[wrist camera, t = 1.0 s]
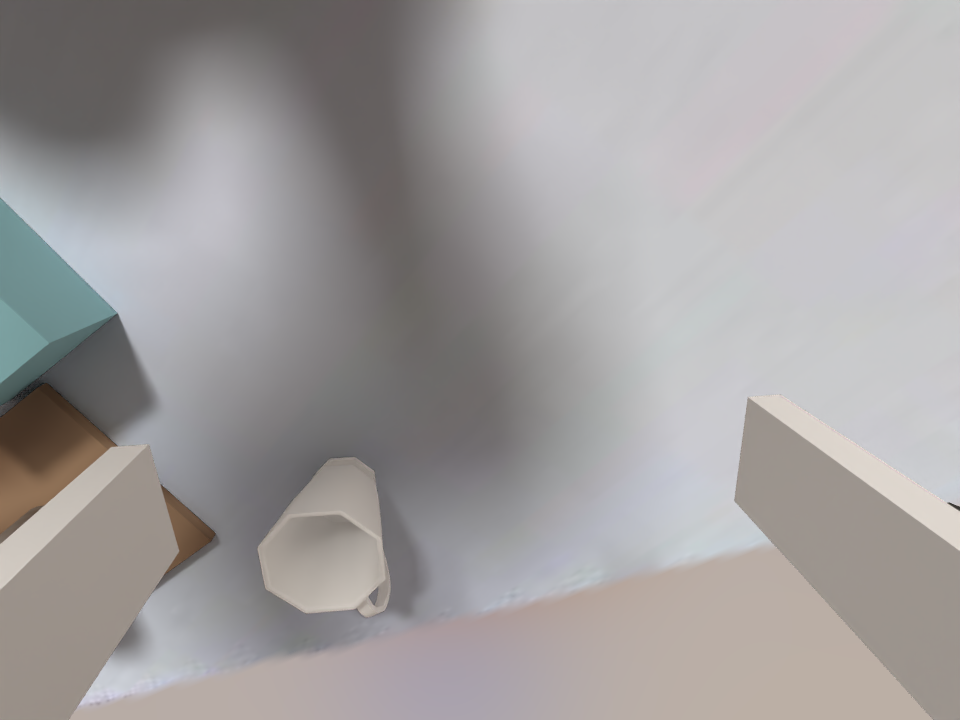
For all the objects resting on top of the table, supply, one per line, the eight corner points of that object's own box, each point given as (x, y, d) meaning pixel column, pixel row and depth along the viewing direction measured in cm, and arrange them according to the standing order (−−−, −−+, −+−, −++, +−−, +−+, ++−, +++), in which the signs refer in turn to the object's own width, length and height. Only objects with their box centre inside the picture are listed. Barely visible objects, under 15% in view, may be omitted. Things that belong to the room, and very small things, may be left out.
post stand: (-108, 507, 35) (-304, 628, 26) (46, 382, 33) (-105, 463, 24) (70, 638, 39) (-43, 781, 30) (215, 533, 37) (143, 651, 28)
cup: (367, 421, 36) (349, 488, 28) (434, 535, 39) (434, 623, 31) (272, 464, 36) (228, 541, 28) (346, 573, 39) (325, 669, 32)
